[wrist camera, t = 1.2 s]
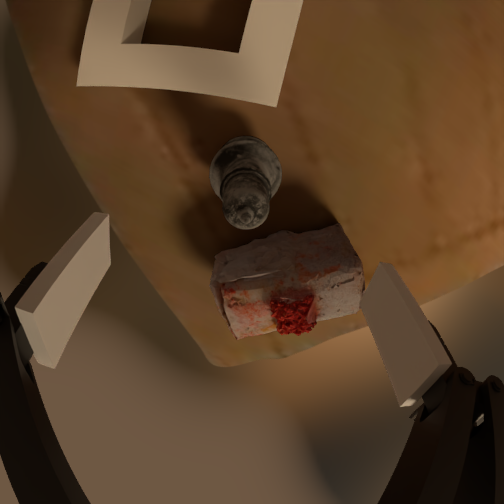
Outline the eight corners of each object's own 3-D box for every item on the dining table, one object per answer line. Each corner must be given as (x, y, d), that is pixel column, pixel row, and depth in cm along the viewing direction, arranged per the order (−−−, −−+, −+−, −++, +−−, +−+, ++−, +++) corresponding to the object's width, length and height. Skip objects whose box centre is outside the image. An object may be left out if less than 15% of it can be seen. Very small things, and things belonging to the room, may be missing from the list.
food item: (235, 297, 35) (233, 364, 27) (210, 240, 31) (199, 305, 23) (348, 268, 33) (376, 330, 25) (339, 206, 29) (374, 261, 21)
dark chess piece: (269, 198, 29) (283, 272, 18) (208, 187, 28) (187, 256, 18) (284, 140, 26) (312, 183, 15) (219, 127, 25) (201, 160, 15)
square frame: (137, -60, 13) (121, -77, 10) (308, -45, 15) (319, -64, 12) (100, 83, 22) (76, 86, 18) (271, 103, 24) (276, 107, 20)
